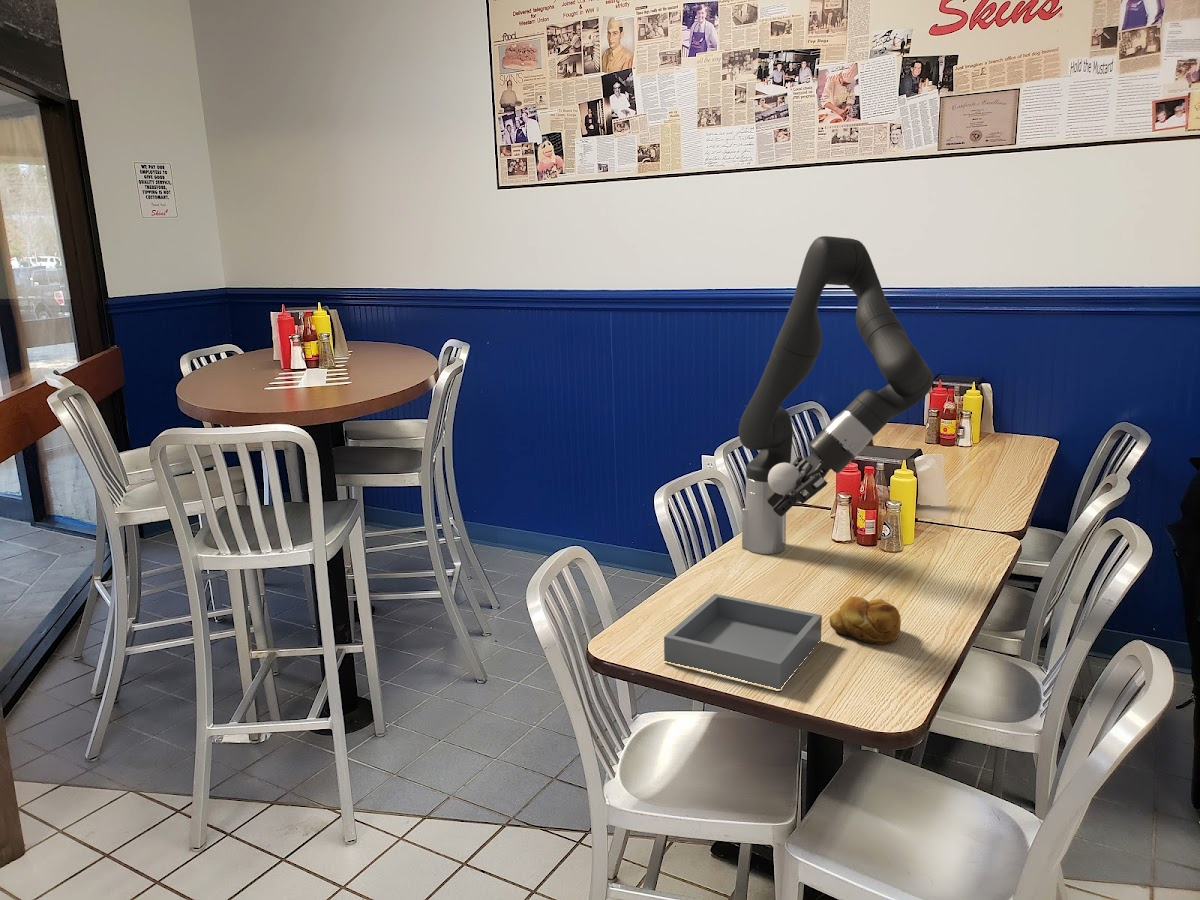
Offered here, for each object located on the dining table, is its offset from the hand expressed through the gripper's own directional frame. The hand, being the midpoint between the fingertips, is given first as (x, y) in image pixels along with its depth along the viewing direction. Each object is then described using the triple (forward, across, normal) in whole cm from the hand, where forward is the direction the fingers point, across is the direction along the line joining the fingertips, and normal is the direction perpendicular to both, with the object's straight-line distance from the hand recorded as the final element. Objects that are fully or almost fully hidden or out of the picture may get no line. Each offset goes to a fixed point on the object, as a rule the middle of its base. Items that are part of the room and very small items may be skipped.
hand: (773, 508), depth 163 cm
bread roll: (+5, +5, +28) cm, 29 cm away
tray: (+22, +10, +11) cm, 26 cm away
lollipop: (+3, 0, +6) cm, 7 cm away
